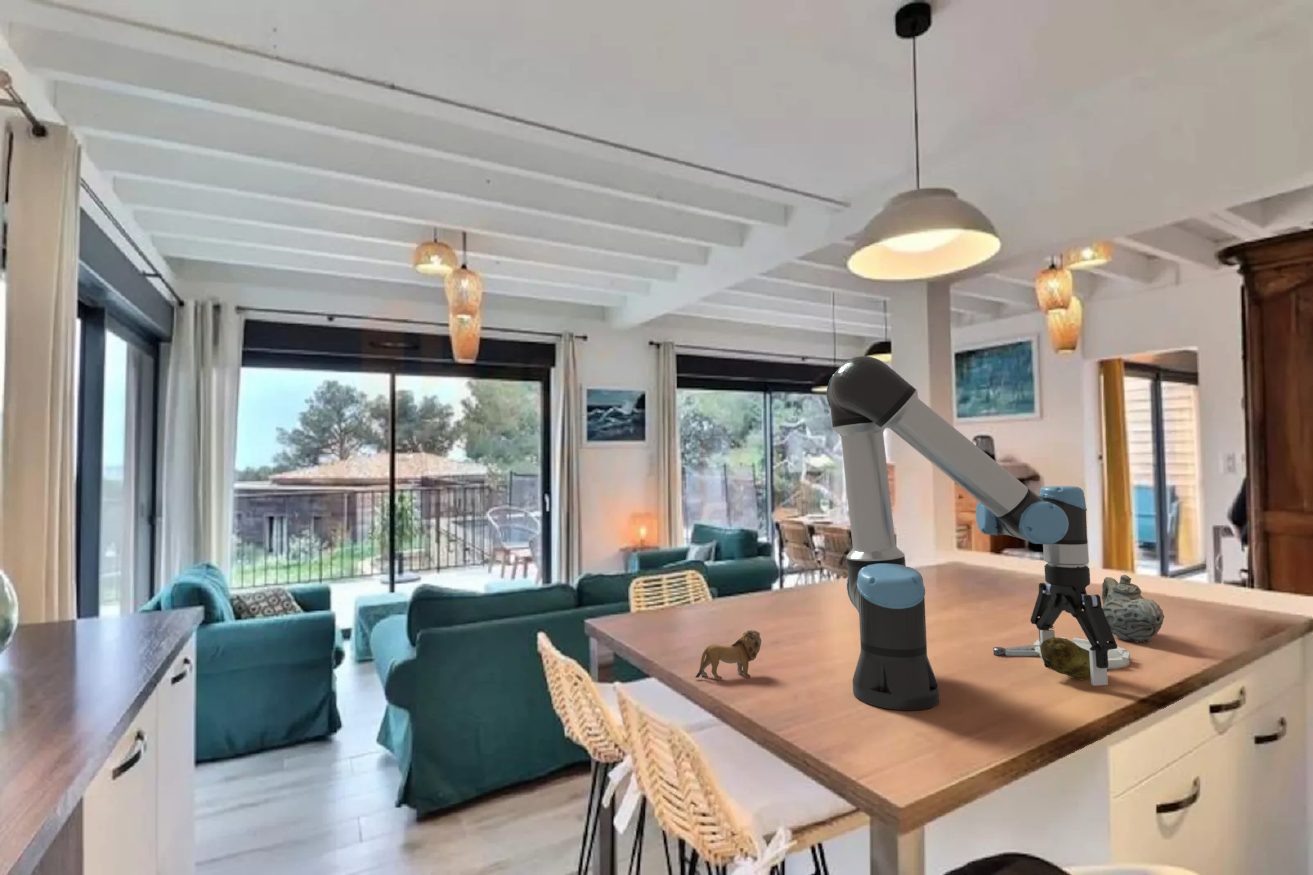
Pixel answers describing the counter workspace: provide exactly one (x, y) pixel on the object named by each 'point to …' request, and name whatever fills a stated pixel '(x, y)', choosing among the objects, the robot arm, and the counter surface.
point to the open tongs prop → (1015, 651)
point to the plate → (1115, 656)
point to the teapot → (1130, 611)
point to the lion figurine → (732, 654)
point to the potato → (1066, 658)
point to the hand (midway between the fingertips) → (1072, 672)
